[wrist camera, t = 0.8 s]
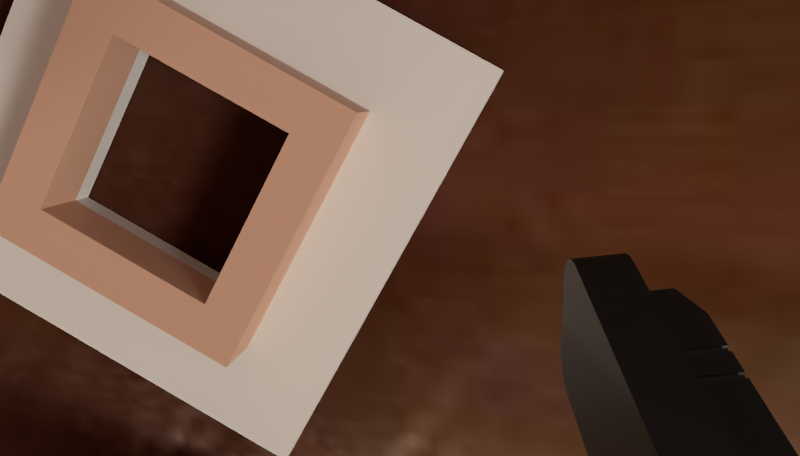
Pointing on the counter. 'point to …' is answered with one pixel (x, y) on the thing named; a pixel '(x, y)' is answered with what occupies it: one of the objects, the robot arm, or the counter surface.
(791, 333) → the counter surface
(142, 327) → the socket stand
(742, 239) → the counter surface
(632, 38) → the counter surface
